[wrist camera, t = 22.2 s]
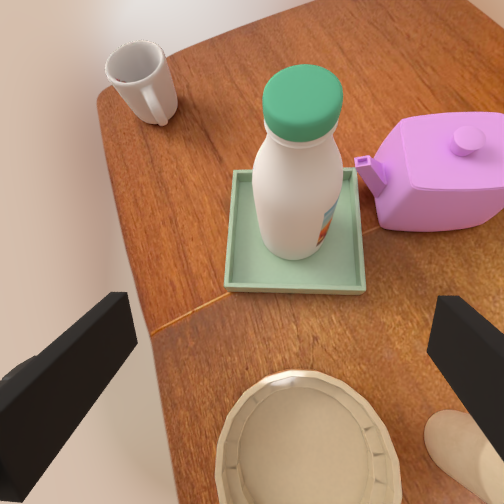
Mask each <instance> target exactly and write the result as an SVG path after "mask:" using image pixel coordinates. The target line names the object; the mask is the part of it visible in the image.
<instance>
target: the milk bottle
mask: <svg viewBox="0 0 504 504" xmlns="http://www.w3.org/2000/svg"><path fill="white" fill-rule="evenodd" d="M342 102H343V90H342V86H341V83H340V81H339V80H338V78H337V77H336V76H335V75H334V74H333V73H332V72H330V71H329V70H327V69H325V68H322V67H319V66H316V65H309V64H302V65H295V66H291V67H288V68H285V69H283V70H281V71H279V72H278V73H276V74H275V75H274V76H273V77H272V78H271V79H270V80H269V81H268V83H267V84H266V87H265V89H264V93H263V114H264V125H265V129H266V131H267V133H268V134H267V136H266V139H265V141H264V142H263V144H262V146H261V147H260V149H259V151H258V153H257V156H256V158H255V162H254V166H253V172H252V186H253V195H254V201H255V207H256V212H257V218H258V223H259V228H260V233H261V236H262V240H263V242H264V244H265V246H266V247H267V248H268V250H269V251H270V252H272V253H273V254H274V255H276V256H278V257H280V258H283V259H286V260H301V259H304V258H307V257H309V256H311V255H313V254H314V253H315V252H316V251H317V250H318V249H319V248H320V247H321V245H322V244H323V242H324V239H325V237H326V234H327V232H328V229H329V226H330V223H331V220H332V217H333V214H334V211H335V208H336V205H337V202H338V199H339V195H340V191H341V188H342V181H343V164H342V159H341V155H340V152H339V150H338V147H337V145H336V143H335V141H334V138H333V133H334V131H335V130H336V127H337V124H338V118H339V115H340V112H341V108H342Z"/></svg>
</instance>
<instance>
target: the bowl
mask: <svg viewBox="0 0 504 504" xmlns="http://www.w3.org/2000/svg"><path fill="white" fill-rule="evenodd" d="M215 481H216V487H217V492H218V497H219V503H220V504H401V501H402V486H401V476H400V466H399V460H398V456H397V454H396V451H395V448H394V446H393V443H392V441H391V438H390V435H389V433H388V430H387V428H386V426H385V424H384V423H383V422H382V420H381V419H380V417H379V416H378V415H377V413H376V412H375V411H374V409H373V408H372V406H371V405H370V404H369V402H368V401H367V400H366V399H365V398H363V397H362V396H361V395H360V394H358V393H357V392H356V391H355V390H354V389H352V388H351V387H350V386H349V385H347V384H346V383H345V382H343V381H341V380H339V379H337V378H335V377H332V376H330V375H327V374H325V373H322V372H320V371H317V370H315V369H303V368H288V369H284V370H281V371H277V372H274V373H270V374H268V375H266V376H265V377H263V378H262V379H260V380H259V381H258V382H256V383H255V384H253V385H252V386H251V387H249V388H248V389H247V390H246V391H245V392H244V393H243V394H242V396H241V397H240V398H239V400H238V401H237V402H236V404H235V405H234V407H233V408H232V409H231V411H230V412H229V413H228V415H227V417H226V420H225V423H224V426H223V428H222V431H221V434H220V437H219V440H218V442H217V452H216V465H215Z"/></svg>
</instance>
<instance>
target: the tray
mask: <svg viewBox="0 0 504 504" xmlns="http://www.w3.org/2000/svg"><path fill="white" fill-rule="evenodd" d="M252 172H253V170H233V181H232V193H231V205H230V217H229V229H228V241H227V253H226V266H225V278H224V288H225V289H226V290H227V291H232V292H266V293H301V294H336V295H361V294H362V293H364V292H365V291H366V280H365V268H364V255H363V243H362V230H361V218H360V205H359V192H358V180H357V170H356V168H355V167H353V168H343V181H342V188H341V191H340V195H339V199H338V202H337V205H336V208H335V211H334V214H333V217H332V220H331V223H330V226H329V229H328V232H327V234H326V237H325V239H324V242H323V244H322V245H321V247H320V248H319V249H318V250H317V251H316V252H315V253H314V254H313V255H311V256H309V257H307V258H304V259H301V260H286V259H283V258H280V257H278V256H276V255H274V254H273V253H272V252H270V251H269V250H268V248H267V247H266V246H265V244H264V242H263V240H262V236H261V233H260V228H259V223H258V218H257V212H256V207H255V201H254V195H253V186H252Z"/></svg>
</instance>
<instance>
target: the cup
mask: <svg viewBox="0 0 504 504" xmlns="http://www.w3.org/2000/svg"><path fill="white" fill-rule="evenodd" d="M105 73H106V76H107V78H108V80H109V81H110V83H111V84H112V85H113V86H114V88H115V89H116V90H117V91H118V93H119V94H120V95H121V97H122V98H123V99H124V100H125V102H126V103H127V104H128V105H129V107H130V108H131V109H132V111H133V112H134V113H135V114H136V115H137V116H138V117H139V118H140V119H141V120H142V121H144V122H146V123H149V124H159V125H160V126H164V125H166V124H167V123H168V120H169V119H170V118H171V117H172V116H173V115H174V113H175V112H176V110H177V105H178V100H177V95H176V91H175V88H174V84H173V81H172V77H171V74H170V71H169V67H168V64H167V60H166V57H165V54H164V52H163V50H162V48H161V47H160V46H159V45H157V44H156V43H153V42H150V41H145V40H138V41H132V42H130V43H126V44H124V45H122V46H120V47H119V48H117V49H116V50H115V51H114V52H113V53H112V54H111V55H110V56H109V58H108V60H107V62H106V65H105Z"/></svg>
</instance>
